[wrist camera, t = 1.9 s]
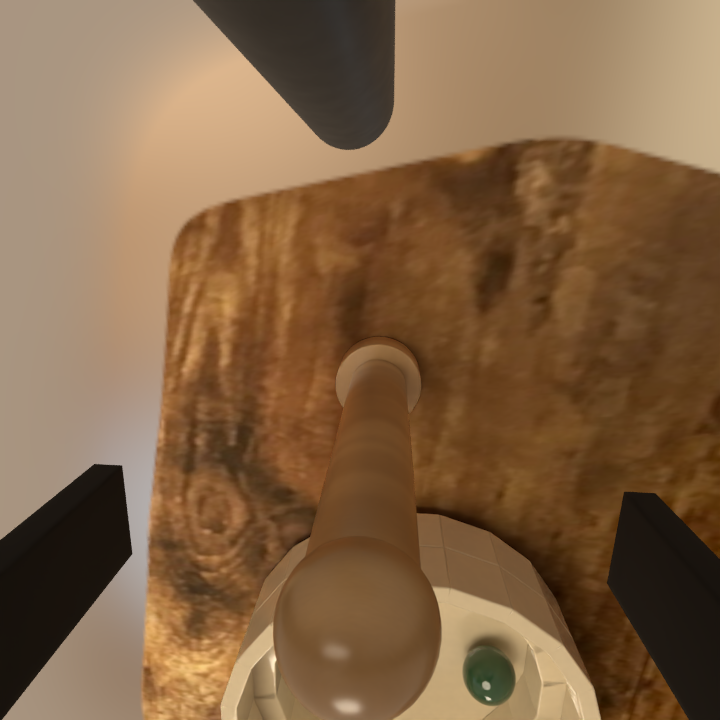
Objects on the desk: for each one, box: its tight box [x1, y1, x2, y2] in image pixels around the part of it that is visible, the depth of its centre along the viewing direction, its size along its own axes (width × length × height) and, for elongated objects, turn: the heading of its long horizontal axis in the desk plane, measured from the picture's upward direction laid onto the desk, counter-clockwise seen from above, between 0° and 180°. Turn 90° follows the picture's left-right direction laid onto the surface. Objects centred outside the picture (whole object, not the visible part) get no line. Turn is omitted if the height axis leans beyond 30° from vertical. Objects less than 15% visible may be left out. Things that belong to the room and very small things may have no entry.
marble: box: [462, 645, 516, 706], centre depth 27 cm, size 3×3×3 cm
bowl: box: [221, 513, 601, 720], centre depth 26 cm, size 18×18×6 cm
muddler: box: [273, 337, 442, 720], centre depth 16 cm, size 4×4×17 cm
